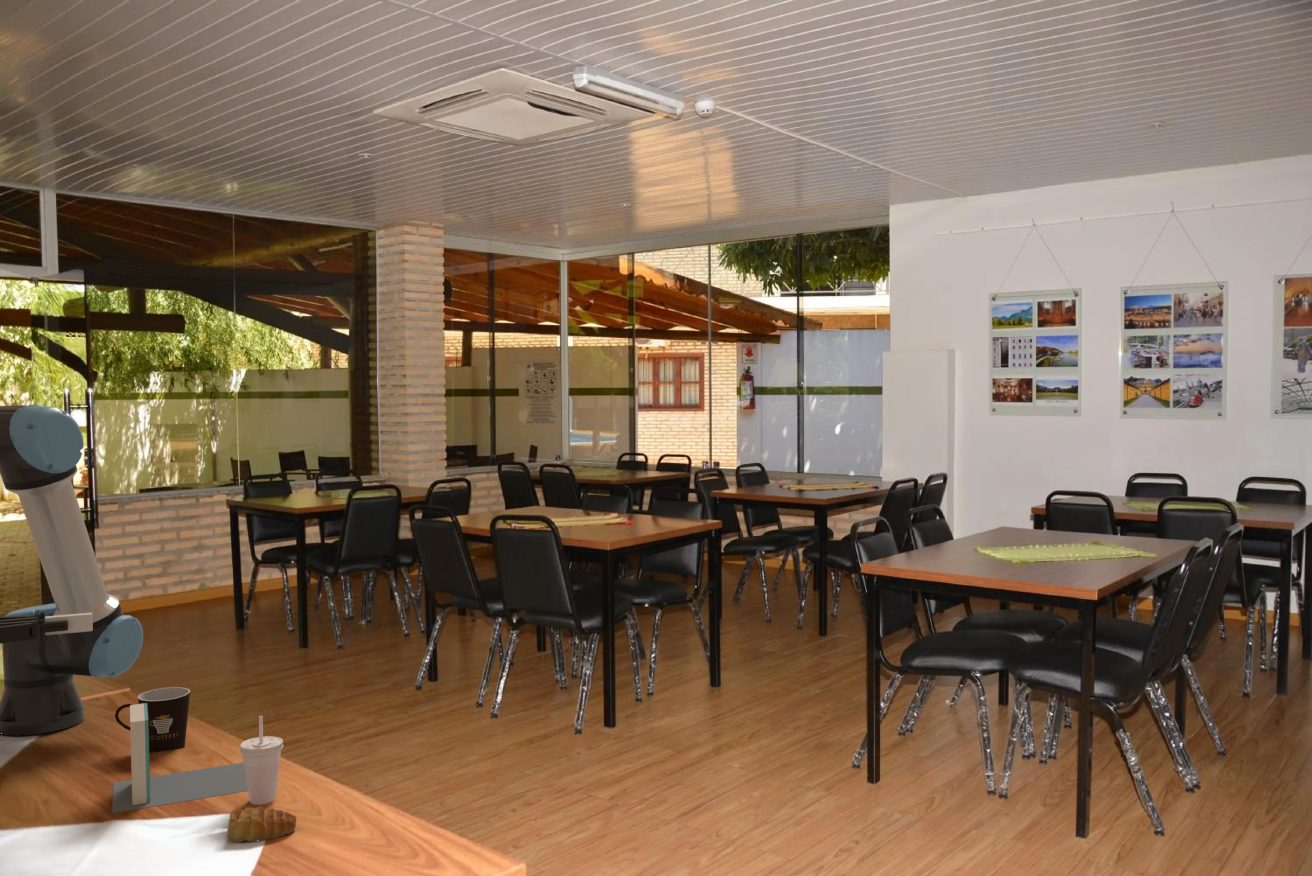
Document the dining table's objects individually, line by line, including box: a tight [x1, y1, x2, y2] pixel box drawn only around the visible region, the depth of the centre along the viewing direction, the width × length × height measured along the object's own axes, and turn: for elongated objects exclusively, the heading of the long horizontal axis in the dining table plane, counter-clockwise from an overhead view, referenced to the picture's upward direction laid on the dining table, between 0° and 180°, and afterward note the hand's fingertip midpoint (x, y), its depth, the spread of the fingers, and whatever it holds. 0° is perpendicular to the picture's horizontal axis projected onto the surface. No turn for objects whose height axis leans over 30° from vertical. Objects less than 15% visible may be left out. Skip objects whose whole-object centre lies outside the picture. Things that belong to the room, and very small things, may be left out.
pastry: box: [225, 805, 297, 843], centre depth 152 cm, size 9×7×4 cm
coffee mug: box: [114, 686, 191, 754], centre depth 188 cm, size 12×9×10 cm
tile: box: [129, 703, 151, 805], centre depth 166 cm, size 10×2×13 cm, turn 27°
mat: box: [111, 762, 248, 814], centre depth 169 cm, size 14×20×1 cm
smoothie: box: [239, 715, 284, 806], centre depth 163 cm, size 6×6×14 cm
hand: (92, 621), depth 166 cm, fingers closed
